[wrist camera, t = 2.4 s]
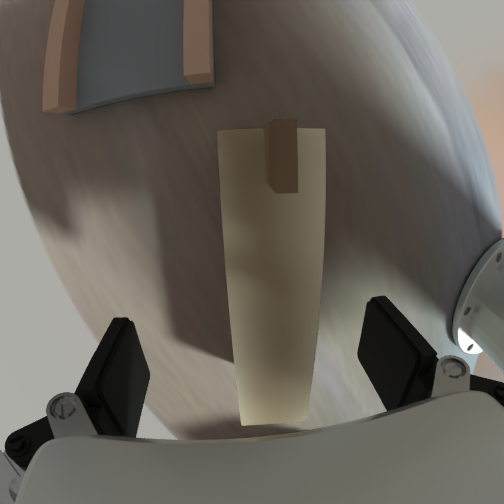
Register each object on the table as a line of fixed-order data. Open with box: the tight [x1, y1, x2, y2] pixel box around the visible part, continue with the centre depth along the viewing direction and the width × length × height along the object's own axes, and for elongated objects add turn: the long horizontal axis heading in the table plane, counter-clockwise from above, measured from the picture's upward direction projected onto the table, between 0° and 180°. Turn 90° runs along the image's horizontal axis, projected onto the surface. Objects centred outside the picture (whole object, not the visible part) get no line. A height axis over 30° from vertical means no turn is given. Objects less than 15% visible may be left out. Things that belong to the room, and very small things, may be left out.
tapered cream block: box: [217, 120, 326, 426], centre depth 14 cm, size 4×16×9 cm, turn 2°
